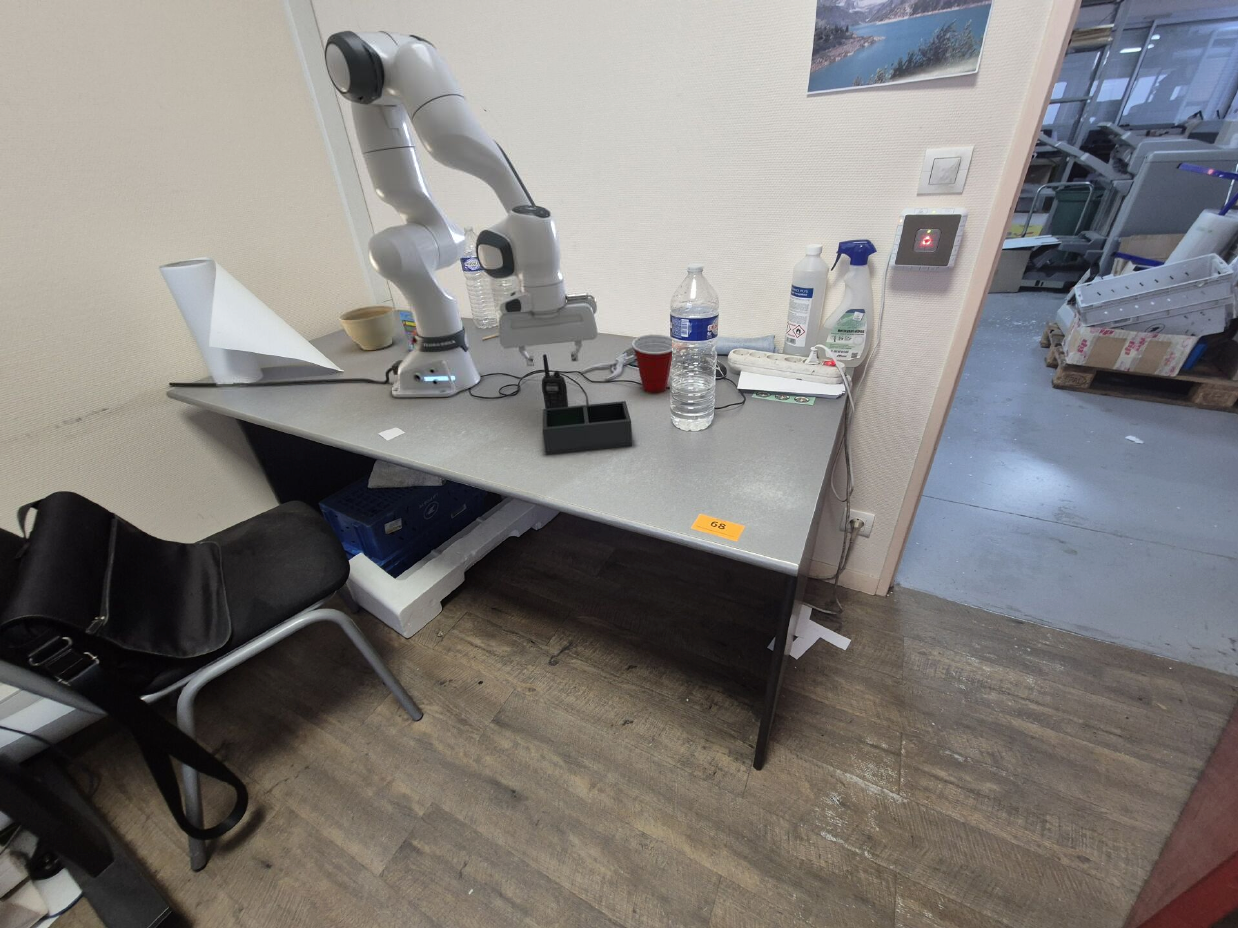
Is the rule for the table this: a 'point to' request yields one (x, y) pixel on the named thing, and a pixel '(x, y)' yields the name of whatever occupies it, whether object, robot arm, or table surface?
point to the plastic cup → (653, 361)
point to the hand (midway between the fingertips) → (553, 363)
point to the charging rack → (586, 427)
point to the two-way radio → (553, 388)
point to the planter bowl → (370, 326)
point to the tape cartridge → (408, 326)
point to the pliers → (619, 362)
